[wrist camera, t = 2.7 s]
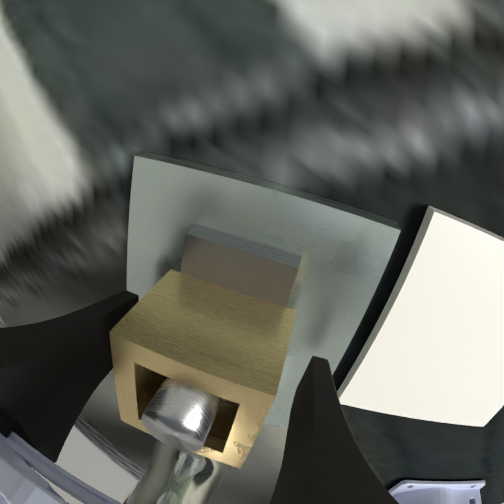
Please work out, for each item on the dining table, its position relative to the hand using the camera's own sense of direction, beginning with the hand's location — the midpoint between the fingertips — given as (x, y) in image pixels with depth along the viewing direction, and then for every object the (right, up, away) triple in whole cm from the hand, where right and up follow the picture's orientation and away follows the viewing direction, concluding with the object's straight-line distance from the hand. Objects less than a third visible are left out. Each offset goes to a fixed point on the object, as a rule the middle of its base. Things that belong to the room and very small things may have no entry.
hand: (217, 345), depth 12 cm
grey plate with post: (+1, +1, +2) cm, 2 cm away
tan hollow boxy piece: (0, 0, 0) cm, 0 cm away
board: (+11, -1, 0) cm, 11 cm away
